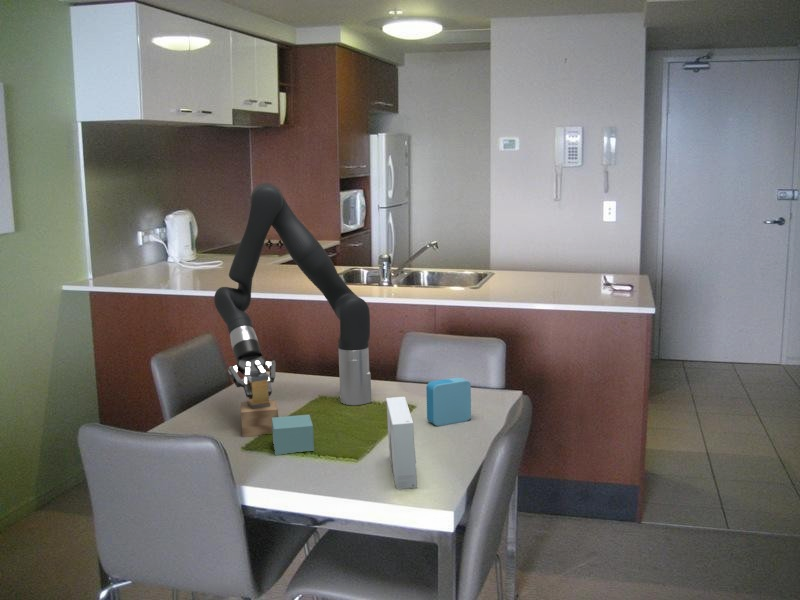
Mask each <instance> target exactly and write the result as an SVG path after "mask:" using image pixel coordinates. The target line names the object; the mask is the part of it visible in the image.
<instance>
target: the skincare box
mask: <svg viewBox="0 0 800 600" xmlns="http://www.w3.org/2000/svg"><path fill="white" fill-rule="evenodd" d="M385 401H386V419H387V436H388V437H387V438H388V451H389V460H390V465H391V468H392V474H393V479H394V484H395V489H396V490H406V489H416V488H418V477H417V466H416V464H417V460H416V448H415V447H416V446H415V445H416V444H415V431H414V429H415V428H414V422H413V418H412V415H411V411H410V409H409V405H408V402H407V398H406V396H395V397H393V396H392V397H386V398H385Z"/></svg>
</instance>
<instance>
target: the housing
mask: <svg viewBox="0 0 800 600" xmlns="http://www.w3.org/2000/svg"><path fill="white" fill-rule="evenodd" d="M269 377H270V374H267V372H266V373H264V372H263V373H261V372H256V373H250V374H248V375H247V379H248V380H249V384H250V387H251V391H252V394H253V397H252V399H249V397H248V398H247V400H246V402H247V405H248V406H249V407H250V408H252V409H259V408H265V407H270V402H269V400H270V398H269V397H270V396H269V394H268V380H269Z"/></svg>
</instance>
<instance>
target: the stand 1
mask: <svg viewBox="0 0 800 600" xmlns="http://www.w3.org/2000/svg"><path fill="white" fill-rule="evenodd" d="M269 402H270V407H265V408H259V409H252V408H250V407H249V406H248V405H247V401H240V418H241V420H240V421H241V434H242V435H241V436H242V438H245V437H246V438H247V437H258V435H260V436H262V435H261V434H267V433H273V430H272V418H273V417H279V408H278V404H277V399H269Z"/></svg>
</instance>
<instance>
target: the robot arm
mask: <svg viewBox="0 0 800 600" xmlns="http://www.w3.org/2000/svg"><path fill="white" fill-rule="evenodd" d="M251 192H252V193H251V195H250V209H249V216H248V221H247V223H246V224H247V225H246V228H245V230H244V233H243V236H242V239H241V240H240V242H239V244H238V247H237V249H236V252H235V255H234V257H233V260H232V263H231V265H230V269H229V273H228V277H229V279H230V280H232V281H233V282H236V283H237V284H238V286H237V288H235V287H228V286H221V287H219V288H217V290H216V291H215V294H214V297H213V300H214V305H215V308H216V310H217V312H218V313H219V316H221V318H222V320H223V321H224V323H225V324H226V327H227V331H228V335H229V338H230V345H231V349H232V352H233V355H234V359H235V362H236V365H234V366H232V365H230V366H229V368H228V370H227V374H228V375H229V377H230V379H231V380H232V382H233V383H234V385H235V387H237V388H242V389H244V393H245V397H246V398H247V399H248V397H249V399H252V397H253V394H252V391H251V387H250V384H249V380H248V379H247V375H248V374H250V373H256V372H261V373H263V372H264V373H266V374H267V371H266V369H268V371H269V380H268V394H269V397H271V395H272V393H273V388H272V385H271V383H274V381H275V378H276V361H275V360H272V361H266V359H265V358H264V357H263V352H262V350H261V346H260V342H259V340H258V336H257V333H256V331H255V329H254V326H253V322H252V320H251V316H250V315H249V314H248V313H247V312H246V311H247V310H248V309H249V307H250V305H251V299H252V288H253V287H252V284H253V278H254V276H255V273H256V271H257V267H258V265H259V261H260V257H261V253H262V251H263V248H264V243H265V241H266V238H267V236H268V233H269V231H270V228H271V227H272V228H273V229H274V231H275V232H276V233H277V234H278V236H279V238H280V240H281V242H282V243H283V246H284V247H285V249H286V251H287V253H288V254H289V255H290V257H291V259H292V260H293V262H294V263H295V264H296V265H297V267H298V268H299V269H300V271H302V273H303V274H304V275H305V277H306V278H308V280H309V281H310V282H311V283H312V284H313V285H314V286H315V287H316V288H317V289H318V290H319V291H320V292H321V293H322V295H323V296H324V298H325V299H326V301H327V303H328V304H329V305H330V307H331V309H332V311H333V312H334V313H335V316H336V317H337V319H338V320H339V329H340V330H339V331H340V332H339V338H338V341H337V343H338V346H337V347H338V367H339V368H338V371H339V373H338V374H339V397H340V398H339V399H340V400H339V401H340V403H341V404H342V403H343V404H342V405H345V404H346V405H347V406H361V405H365V404H370V403H371V404H372V378H371V377H372V375H371V374H372V373H371V371H370V355H369V353H370V352H369V348H370V347H369V343H370V342H369V341H370V337H371V336H370V335H371V315H370V314H371V313H370V308H369V304H368V303H367V302H366V300H365V299H362V298H361V297H360V296H358V295H357V294H356V293H355V292H353V290H352V289H351V288H350V287H349V286H348V285H347V284H346V283H345V282H344V280H343V279H342V278H341V276H340V274H339V272H338V270H337V268H336V267H335V265H334V263H333V261H332V259H331V257H330V256H329V254H328V253H327V252H326V250H325V249H324V247H323V246H322V245H321V243H320V242H319V241H318V240H317V239H316V237H315V236H314V235H313V234H312V232H311V231H310V230H309V229H308V228H307V227H306V226H305V225H304V224H303V223H302V222H301V221H300V219H298V217H297V215H295V214H294V212H293V210H292V209H291V207H290V206H289V204H288V202H287V200H286V199H285V197H284V196H283V194H282V192H281V190H280V189H279V188H278V187H277V186H275V184H272V183H269V182H268V183H266V182H265V183H260V184H258V185H257V186H255V187H254V189H253V190H252V191H251ZM265 367H266V369H265ZM238 372H239V373H240V374H242V375H243V380H242V378H241V377H240V376H239V374H238Z"/></svg>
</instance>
